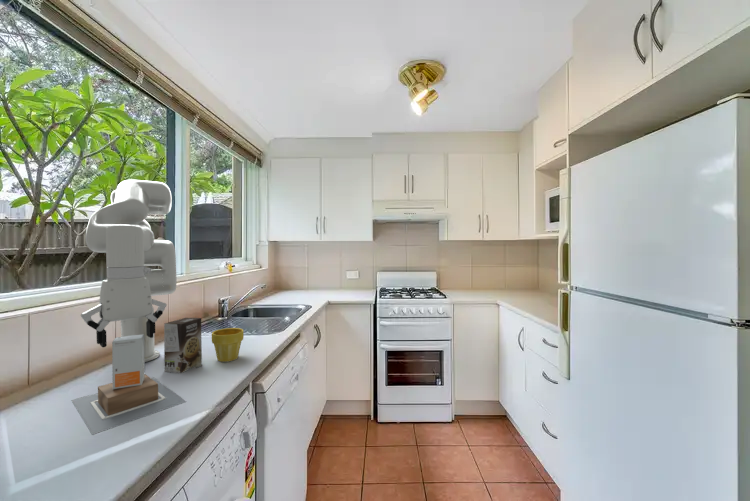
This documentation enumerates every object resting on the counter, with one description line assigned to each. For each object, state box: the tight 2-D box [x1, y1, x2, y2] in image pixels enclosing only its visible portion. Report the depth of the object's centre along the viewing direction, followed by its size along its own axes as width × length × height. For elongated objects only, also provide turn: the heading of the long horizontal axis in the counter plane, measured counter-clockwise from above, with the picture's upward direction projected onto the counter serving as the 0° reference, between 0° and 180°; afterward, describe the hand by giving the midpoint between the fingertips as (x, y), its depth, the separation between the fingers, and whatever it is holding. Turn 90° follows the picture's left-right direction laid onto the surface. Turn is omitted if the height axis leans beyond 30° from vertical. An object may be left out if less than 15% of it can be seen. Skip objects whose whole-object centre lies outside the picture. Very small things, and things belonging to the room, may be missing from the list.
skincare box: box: [111, 334, 145, 389], centre depth 81 cm, size 6×4×12 cm
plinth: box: [97, 373, 158, 416], centre depth 81 cm, size 10×10×4 cm
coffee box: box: [163, 317, 203, 374], centre depth 104 cm, size 9×6×16 cm
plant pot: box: [211, 327, 245, 363], centre depth 114 cm, size 10×10×10 cm
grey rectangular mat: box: [70, 376, 187, 436], centre depth 81 cm, size 24×18×1 cm
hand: (127, 341), depth 82 cm, fingers open, 9 cm apart
